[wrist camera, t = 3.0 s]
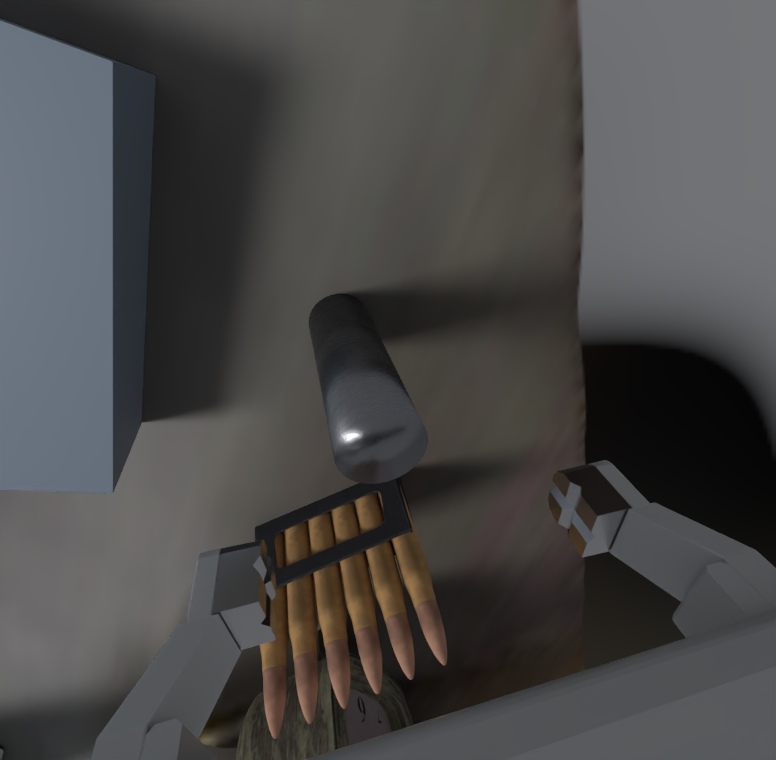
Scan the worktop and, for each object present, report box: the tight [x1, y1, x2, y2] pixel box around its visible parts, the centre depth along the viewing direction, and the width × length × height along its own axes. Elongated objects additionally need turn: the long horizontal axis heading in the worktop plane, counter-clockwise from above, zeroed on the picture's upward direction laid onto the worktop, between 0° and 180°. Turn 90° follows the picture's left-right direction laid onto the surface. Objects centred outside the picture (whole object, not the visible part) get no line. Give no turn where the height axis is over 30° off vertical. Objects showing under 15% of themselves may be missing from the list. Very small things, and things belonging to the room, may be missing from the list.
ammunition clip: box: [255, 477, 447, 739], centre depth 24 cm, size 11×2×12 cm, turn 108°
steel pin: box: [309, 294, 428, 484], centre depth 18 cm, size 3×3×10 cm
